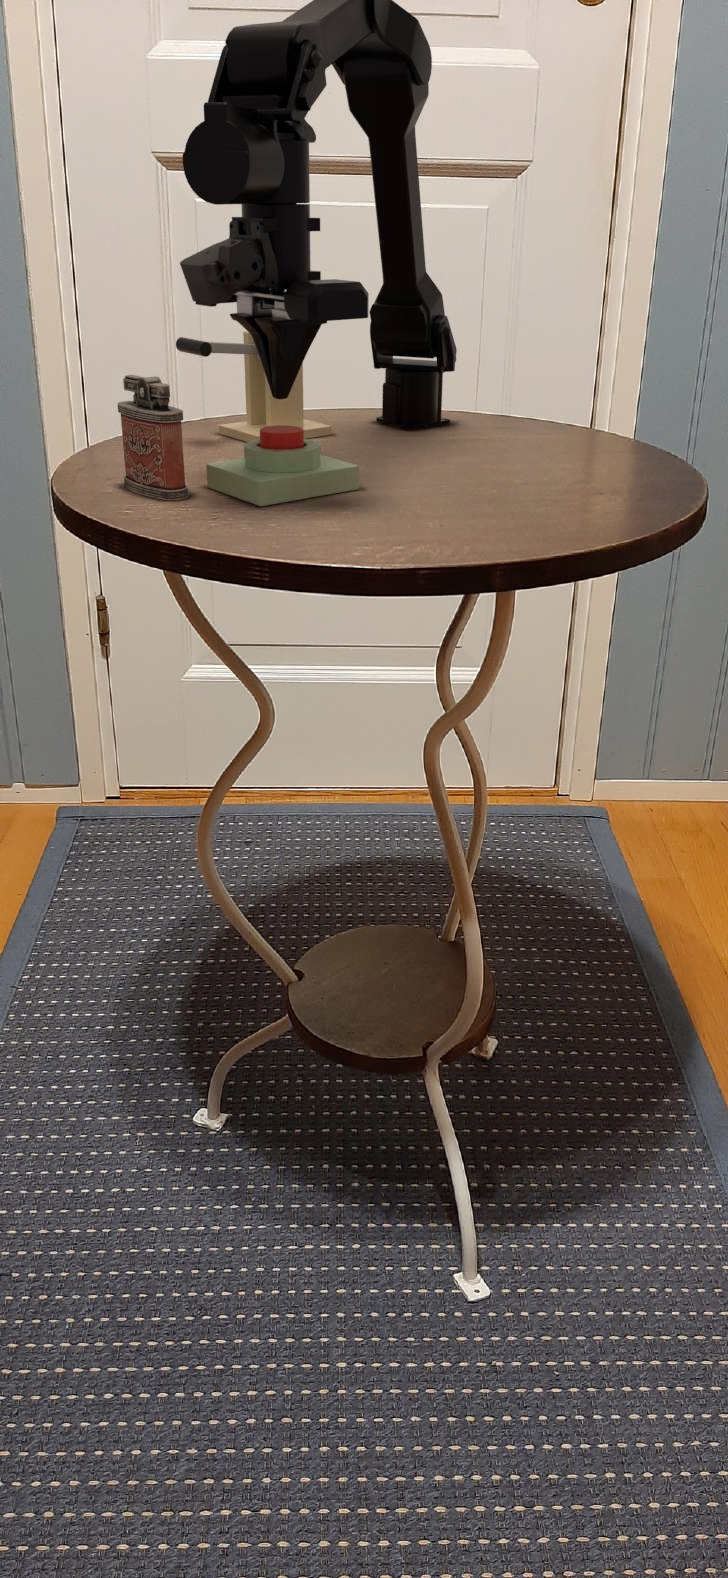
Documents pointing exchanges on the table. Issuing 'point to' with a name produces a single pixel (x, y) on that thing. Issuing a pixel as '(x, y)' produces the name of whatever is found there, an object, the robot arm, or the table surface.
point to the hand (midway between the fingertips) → (280, 398)
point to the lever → (214, 347)
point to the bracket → (270, 405)
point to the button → (281, 437)
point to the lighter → (152, 440)
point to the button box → (281, 474)
